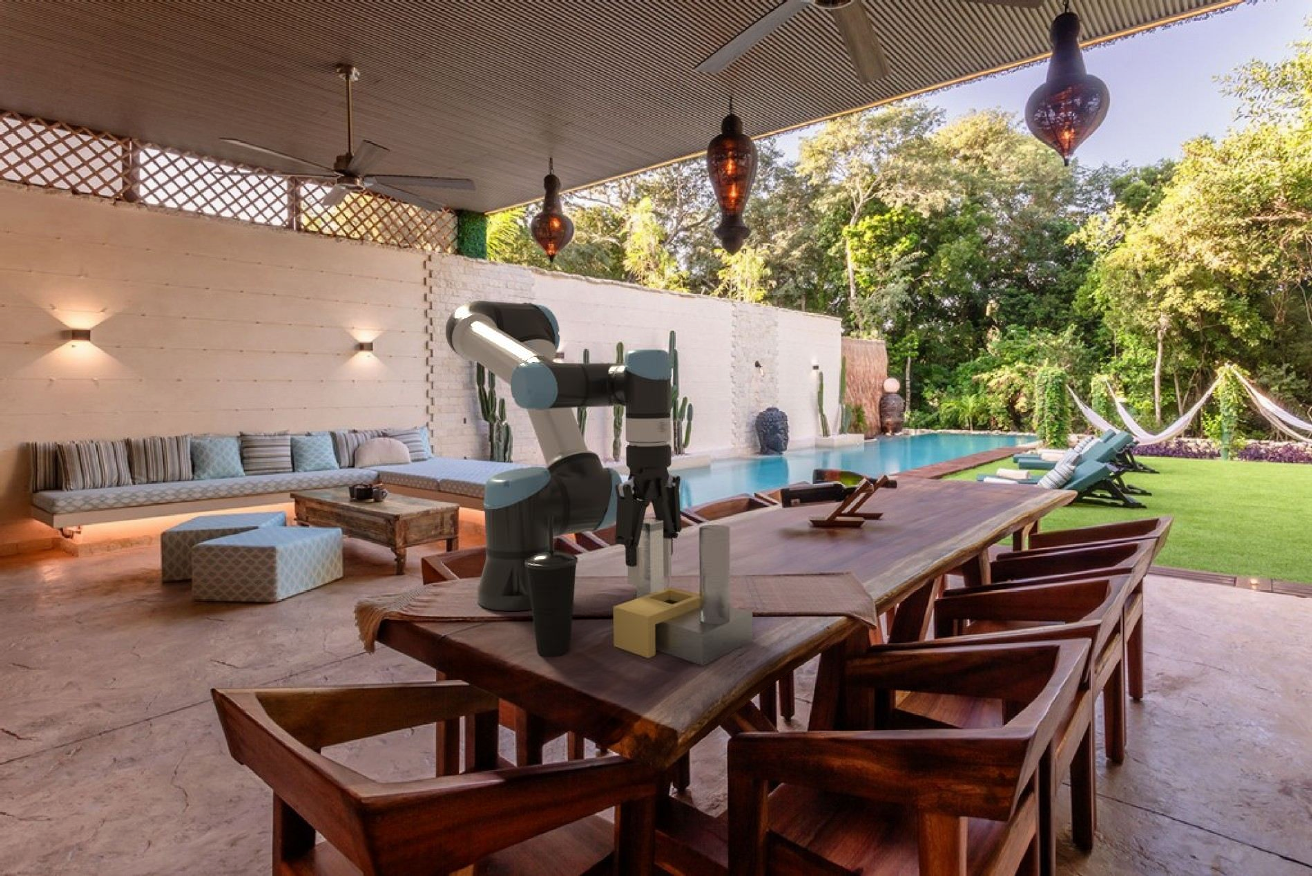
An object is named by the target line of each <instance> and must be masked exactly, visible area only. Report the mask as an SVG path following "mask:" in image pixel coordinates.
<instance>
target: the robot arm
mask: <svg viewBox="0 0 1312 876" xmlns="http://www.w3.org/2000/svg"><path fill="white" fill-rule="evenodd" d="M445 324H446V325H445V339H446V341H447V343H448V346H449V347H450V349H451V350H452V351H453V352H454V353H456V354H457V355H458V356H460V357H461V358H462V359H464V360H467V361H469V362H477V363H478V364H480V365H481V366H483V367H484V368H485V369H486V370H488V371H489V372H491V373H492V374H494V375H495V376H497V377H498V378H500V380H502V381H504V382H505V383H506V384H508V385H509V386H510V392H511V396H512V398H513V399H514V402H515V404H516V405H517V406H518V407H519V408H521V409H525V410H526V411H527V414H528V417H529V419H530V420H529V421H530V422H531V425H532V428H533V430H534V433H535V437H536V439H537V441H538V444H539V447H540V449H541V452H542V455H543V458H544V461H545V463H546V466H545V467H544V466H530V467H525V468H523V467H520V468H514V469H510V470H509V469H508V470H506V471H502V472H499V473H497V474H494V475H492V476H490V478H488V479H487V481H486V482H485V484H484V500H483V506H484V524H485V525H484V527H485V528H484V529H485V557H486V558H485V562H484V565H483V569H482V573H481V576H480V579H479V584H478V586H477V591H476V592H477V594H476V595H477V603H478V604H479V606H481V607H483V608H486V609H488V610H494V611H501V612H502V611H504V612H505V611H506V612H510V611H511V612H513V611H514V612H516V611H529V610H532V604H531V596H530V587H529V579H528V570H527V566H526V565H525V560H526V559H527V558H529V557H531V556H533V555H535V554H537V553H539V552H542V551H547V550H549V528H548V516H553V537H558V536H560V537H561V536H565V535H572V534H578V533H584V532H596V531H598V530H601V529H606V528H608V527H611V526H613V525H614V524H615V536H614V537H615V538H614V541H615V543H616V544H619V545H622V546H624V548H625V549H624V551H625V552H624V554H625V555H624V556H625V565H626V566H627V584H628V585H633V586H636V587H637V586H639V587H640V586H643V552H642V546H638V545H639V540H640V536H641V531H642V526H643V522H644V519H645V516H646V513H647V507H649V506H650V504H652V508H653V511H654V512H653V513H654V516H655V519H656V520H662V521H663V577H666V578H671V577H672V556H673V553H674V547H673V546H674V545H673V544H674V543H673V542H674V539H678V537H679V533H680V532H681V531H682V530H683V529H682V527H683V526H682V516H681V500H680V499H681V498H680V486H681V485H680V484H681V476H680V475H672V474H670V473H669V471H668V468H670V467H671V465H672V446H671V445H670V444H669V443H668V442H670V441H671V439H672V437H671V436H672V435H671V434H672V432H671V431H672V430H671V428H672V427H671V426H672V424H671V420H672V419H671V417H672V415H671V413H672V409H671V408H672V399H671V398H672V374H673V373H672V372H671V357H670V353H669V352H668V351H666V350H665V349H630V350H628V351H626V352H625V354H624V360H623V362H616V363H615V362H614V363H612V362H606V363H605V362H595V363H594V362H593V363H592V362H589V363H588V362H586V363H583V362H582V363H581V362H580V363H579V362H556V361H554V359H555V358H556V356H557V351H558V349H559V346H560V340H561V336H560V334H559V332H560V326H559V323H558V320H557V318H556V316H555V314H554V312H553V311H552V310H551V309H549V308H548V307H547V306H545V305H542V304H536V303H532V302H522V303H518V302H517V303H516V302H506V301H505V302H503V301H501V302H500V301H492V300H491V301H489V300H474V301H470V302H466V303H465V304H462V305H460V306H458V307H457V308H456V309H455V310H454V311H453V312H452V313H451V314H450V316H449V317H448V319H447V321H446V323H445ZM600 407H602V408H603V407H605V408H606V407H609V408H610V407H625V413H624V414H625V441H626V442H627V443H629V444H627V446H626V447H625V465H626V466H627V468H628V469H629V475H628V478H627V480H626V481H624V482H623V480H622V477H621V475H620V474H619V472H618V471H617V470H616V469H614V468H611V467H609V466H607V467H604V466H603V464H602V462H601V459H600V457H599V455H598V454H597V453H596V452H593V451H591V450H589V449H588V447H587V445H586V442H585V439H584V437H583V434H582V433H581V429H580V427H579V424H578V421H577V419H576V417H575V414H574V411H573V408H600Z"/></svg>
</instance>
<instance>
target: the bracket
mask: <svg viewBox="0 0 1312 876" xmlns="http://www.w3.org/2000/svg"><path fill="white" fill-rule="evenodd" d="M667 600H673V601H677V602H678V603H675V604H669V603H665V602H664V601H667ZM699 607H700V593H696V592H692V591H689V590H683V589H679V588H676V587H673V586H672V587H671V586H670V587H667V588H664V590H661V591H658V592H655V593H652V594H649V595H646V596H643V597H640V598H637V597H636V598H635V599H631V600H629V601H626V602H623V603H620V604H618V605H614V606H613V608H612V609H613V647H616V648H619V649H622V650H623V651H627V652H630V653H633V654H636V655H639V656H642V657H644V658H646V659H647V658H648V659H649V658H652V657H654V656H656V650H655V624H658V623H660V622H663V621H665V620H668V619H671V618H673V617H676V616H678V615H681V614H683V613H686V612H688V611H691V610H694V609H696V608H699Z"/></svg>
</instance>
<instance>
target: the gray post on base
mask: <svg viewBox="0 0 1312 876" xmlns="http://www.w3.org/2000/svg"><path fill="white" fill-rule="evenodd" d="M698 531H699V532H698V533H699V534H698V535H699V536H698V537H699V539H698V541H699V543H698V545H699V546H698V547H699V550H698V551H699V552H698V553H699V556H698V557H699V558H698V559H699V572H698V573H699V594H700V607H699V608H696V609H694V610H691V611H688V612H686V613H683V614H681V615H678V616H676V617H673V618H671V619H668V620H665V621H663V622H660V623H658V624H655V651H659V652H661V653H664V654H666V655H667V654H668V655H670V656H673V657H677V658H679V659H682V660H685V661H689V662H692V663H694V664H698V665H700V666H704V665H705V666H706V665H707V664H709V663H711V662H714V661H715V660H717V659H719V658H721V657H724V656H725V655H727V654H729V653H731V652H734V651H735V650H738V649H739V648H741V647H743V646H745V645H747V644H749V643H752V642H753V611H749V610H746V609H742V608H738V607H734V606H730V605H731V604H730V603H731V598H730V597H731V594H730V593H731V582H730V581H731V579H730V577H731V573H730V572H731V566H730V563H731V562H730V561H731V553H730V552H731V547H730V544H731V543H730V542H731V541H730V539H731V537H730V536H731V535H730V534H731V530H730V526H727V525H722V524H706V525H701V526H699V527H698ZM664 602H665V603H669V604H675V603H678V602H677V601H673V600H667V601H664Z"/></svg>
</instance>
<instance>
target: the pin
mask: <svg viewBox="0 0 1312 876" xmlns="http://www.w3.org/2000/svg"><path fill="white" fill-rule="evenodd" d="M638 546H642V552H643V586H640V587H639V586H636V599H637V598H640V597H643V596H646V595H649V594H652V593H655V592H658V591H661V590H664V589H665V588H664V586H665V585H664V577H665V576H663V521H662V520H656V518H650V517H649V518H648V517H647V518H644V522H643V526H642V531H641V536H640V540H639V545H638Z"/></svg>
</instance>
